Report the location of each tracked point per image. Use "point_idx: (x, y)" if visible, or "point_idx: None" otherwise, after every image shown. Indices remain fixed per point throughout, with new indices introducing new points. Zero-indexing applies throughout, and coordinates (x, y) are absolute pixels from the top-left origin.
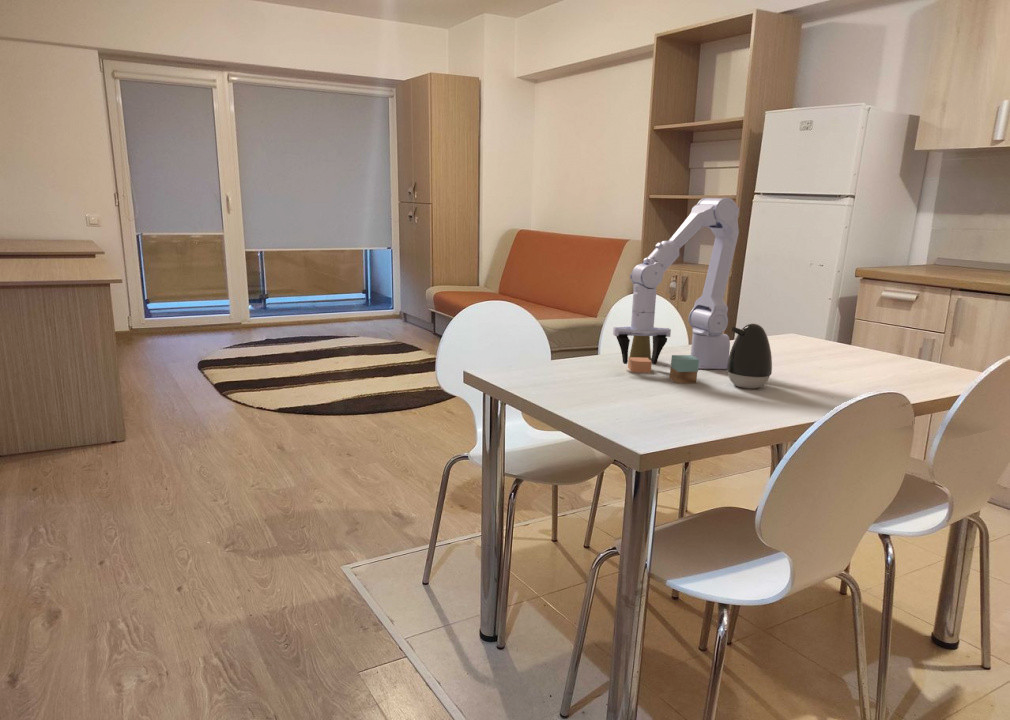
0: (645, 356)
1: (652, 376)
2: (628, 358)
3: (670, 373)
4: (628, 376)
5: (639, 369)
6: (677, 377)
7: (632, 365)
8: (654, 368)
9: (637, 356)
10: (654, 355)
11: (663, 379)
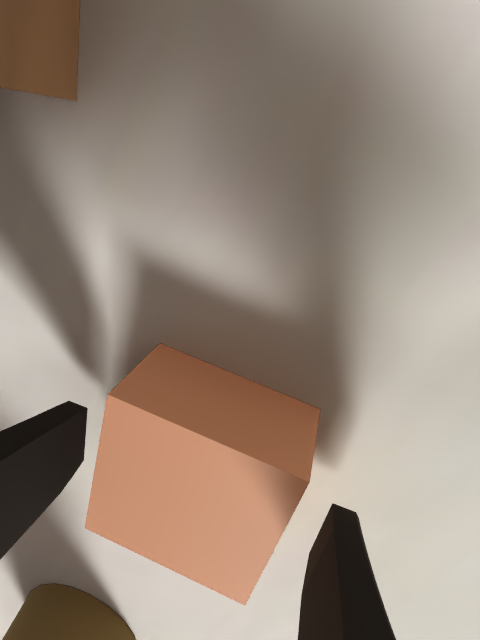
0: (54, 614)
1: (214, 204)
2: (247, 593)
3: (40, 77)
4: (476, 268)
5: (247, 395)
6: None
7: (307, 448)
8: None
9: (99, 638)
10: (24, 475)
11: (159, 46)
